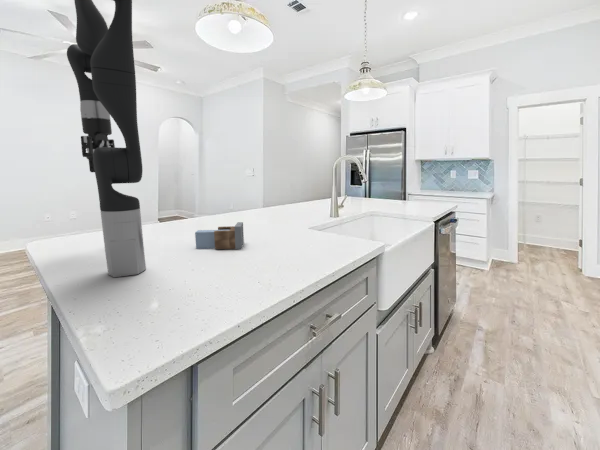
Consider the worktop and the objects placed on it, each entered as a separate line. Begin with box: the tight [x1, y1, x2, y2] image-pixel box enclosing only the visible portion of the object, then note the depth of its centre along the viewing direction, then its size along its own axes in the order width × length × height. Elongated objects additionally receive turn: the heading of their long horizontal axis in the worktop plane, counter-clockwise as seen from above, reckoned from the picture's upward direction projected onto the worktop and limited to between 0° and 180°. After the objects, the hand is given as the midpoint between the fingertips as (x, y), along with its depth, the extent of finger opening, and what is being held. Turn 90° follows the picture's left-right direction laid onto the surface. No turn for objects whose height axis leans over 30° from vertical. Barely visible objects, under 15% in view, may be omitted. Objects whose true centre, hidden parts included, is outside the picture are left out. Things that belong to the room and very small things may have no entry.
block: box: [214, 225, 236, 250], centre depth 113 cm, size 7×9×6 cm
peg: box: [194, 229, 223, 250], centre depth 113 cm, size 12×4×6 cm, turn 94°
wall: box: [234, 221, 245, 250], centre depth 113 cm, size 2×9×8 cm, turn 4°
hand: (102, 171), depth 99 cm, fingers open, 8 cm apart
